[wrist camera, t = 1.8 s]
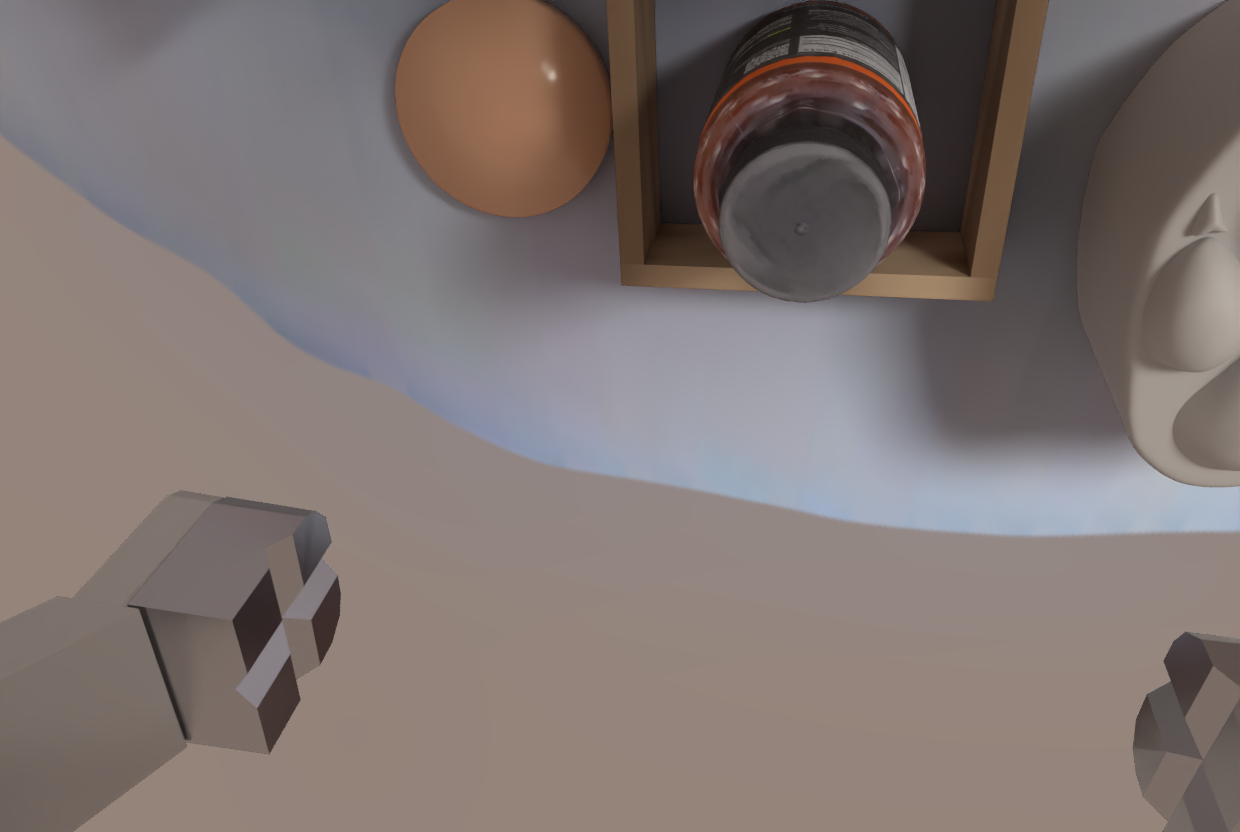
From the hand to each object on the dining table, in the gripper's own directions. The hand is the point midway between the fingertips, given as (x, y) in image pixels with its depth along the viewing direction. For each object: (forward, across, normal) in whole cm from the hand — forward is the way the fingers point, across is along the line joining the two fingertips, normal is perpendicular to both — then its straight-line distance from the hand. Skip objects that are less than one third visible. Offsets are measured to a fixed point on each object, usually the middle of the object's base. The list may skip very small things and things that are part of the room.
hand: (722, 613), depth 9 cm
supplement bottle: (+26, -1, +2) cm, 26 cm away
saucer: (+26, +10, +3) cm, 28 cm away
